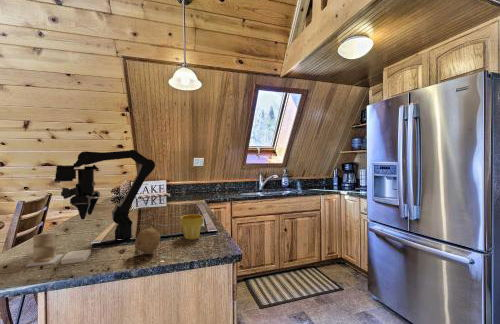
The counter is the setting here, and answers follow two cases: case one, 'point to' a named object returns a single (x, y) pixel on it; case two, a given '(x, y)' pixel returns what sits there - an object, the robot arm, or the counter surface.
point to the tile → (75, 256)
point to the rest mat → (45, 262)
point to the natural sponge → (147, 241)
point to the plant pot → (191, 226)
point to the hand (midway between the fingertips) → (86, 216)
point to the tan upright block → (44, 247)
